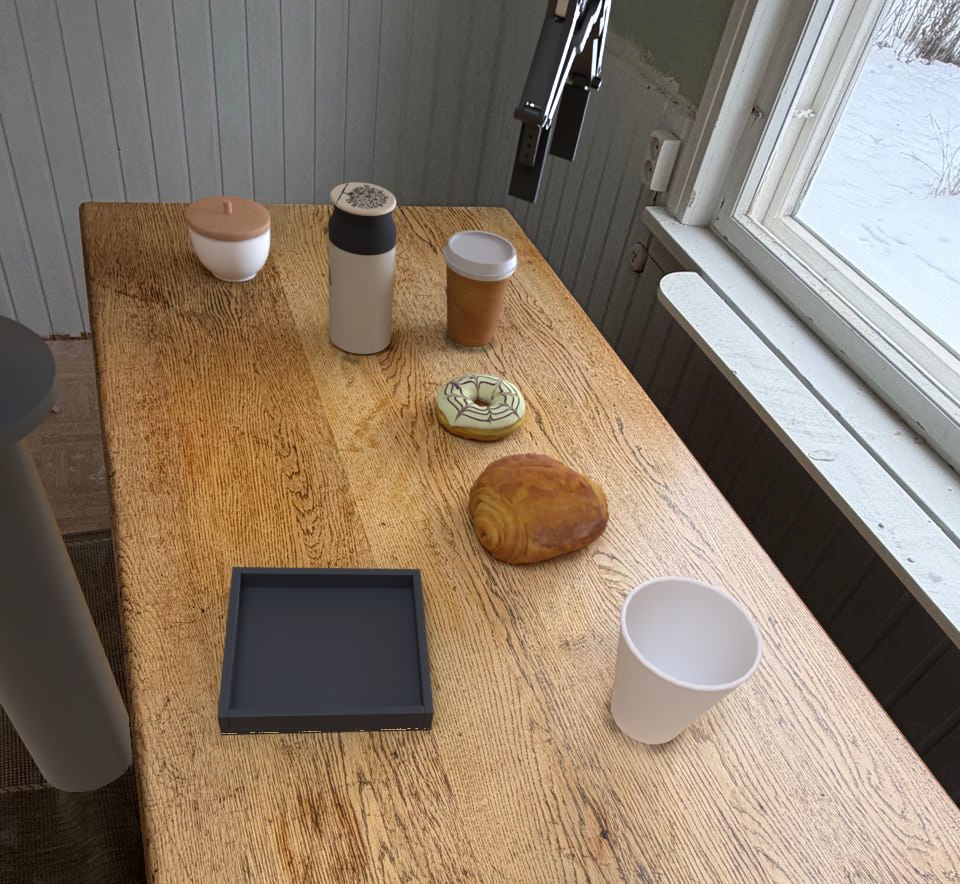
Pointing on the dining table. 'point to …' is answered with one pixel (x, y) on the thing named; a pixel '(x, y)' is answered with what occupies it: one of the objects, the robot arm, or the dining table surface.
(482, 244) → the disposable coffee cup
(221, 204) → the trinket box
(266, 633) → the serving tray
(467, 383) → the decorated donut
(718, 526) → the dining table surface
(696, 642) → the cup
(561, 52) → the robot arm
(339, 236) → the travel mug
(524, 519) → the croissant
